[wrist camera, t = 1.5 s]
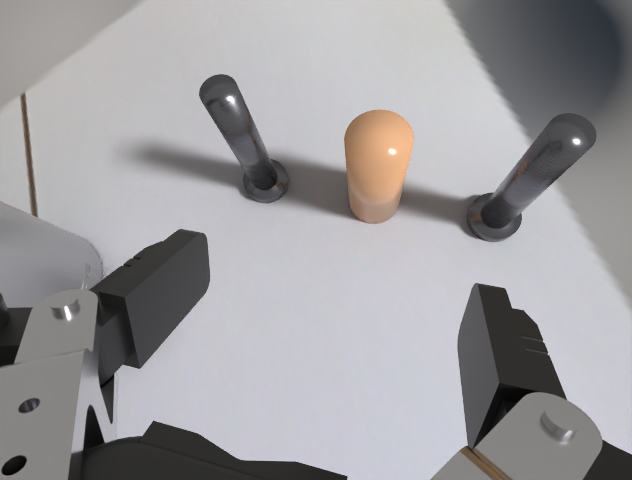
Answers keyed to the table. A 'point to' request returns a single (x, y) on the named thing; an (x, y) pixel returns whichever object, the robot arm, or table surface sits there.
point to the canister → (377, 163)
